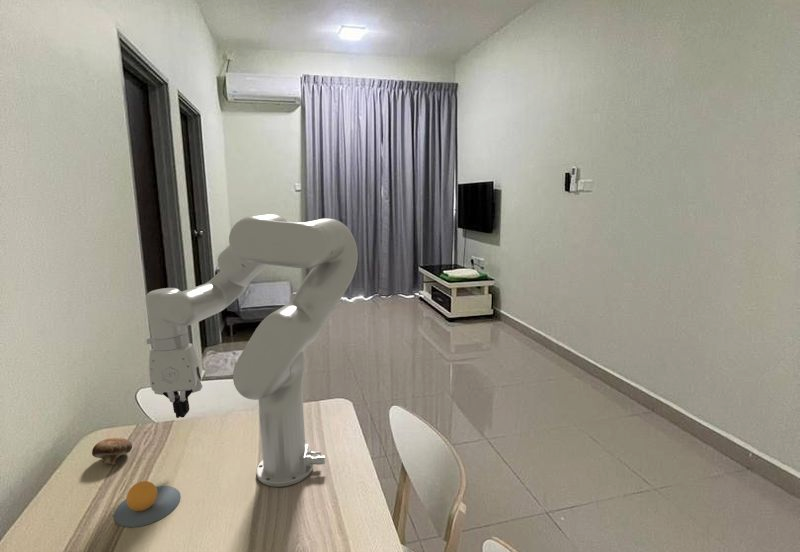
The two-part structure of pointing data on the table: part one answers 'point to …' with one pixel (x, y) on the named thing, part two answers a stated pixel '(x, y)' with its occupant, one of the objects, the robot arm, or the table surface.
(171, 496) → the disc
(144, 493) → the ball
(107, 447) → the mushroom
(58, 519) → the table surface
